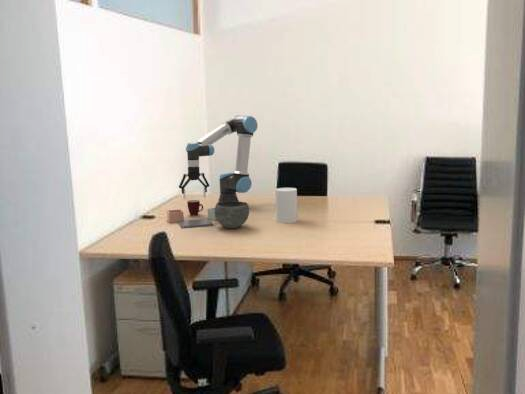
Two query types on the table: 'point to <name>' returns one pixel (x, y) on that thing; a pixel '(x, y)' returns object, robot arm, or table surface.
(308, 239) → the table surface
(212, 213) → the sage open box
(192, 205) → the mug
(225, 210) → the bowl
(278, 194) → the canister
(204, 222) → the slate board
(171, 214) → the tan open box
